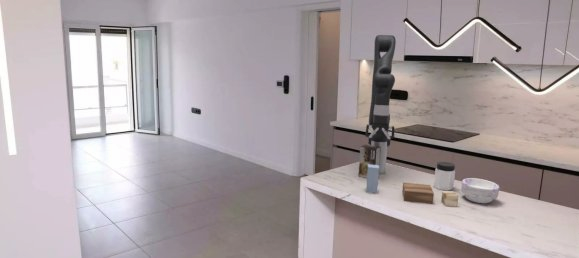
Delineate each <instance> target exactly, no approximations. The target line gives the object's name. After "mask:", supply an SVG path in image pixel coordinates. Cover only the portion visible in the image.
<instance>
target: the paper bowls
mask: <svg viewBox="0 0 579 258" xmlns="http://www.w3.org/2000/svg"><path fill="white" fill-rule="evenodd" d="M460 191H461V193H462V194H464V196H465V198H466V199H467V200H468V201H471V202H473V203H477V204H489V203H491V202H492V201H493V200H495V199H498V197H499V193H500V185H499V184H497V183H496V182H494V181H490V180H487V179H482V178H476V177H471V178H470V177H467V178H464V179H462V181H461V185H460Z"/></svg>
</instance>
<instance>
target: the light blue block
mask: <svg viewBox="0 0 579 258" xmlns="http://www.w3.org/2000/svg"><path fill="white" fill-rule="evenodd" d="M378 175H379V176H380V174H379V165H370V164H368V172H367V178H366V187H365V189H366V190H365V193H368V194H369V193H370V194H378V185H379V177H378Z"/></svg>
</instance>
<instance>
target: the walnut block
mask: <svg viewBox="0 0 579 258" xmlns="http://www.w3.org/2000/svg"><path fill="white" fill-rule="evenodd" d="M401 193H402V198H403V202H411V203H417V204H418V203H419V204H428V205H429V204H430V205H433V204H434V198H435V197H434V196H435V194H434V191H433V189H432V186H431V184H424V183H421V184H420V183H412V182H411V183H410V182H402V192H401Z"/></svg>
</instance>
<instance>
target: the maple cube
mask: <svg viewBox="0 0 579 258" xmlns="http://www.w3.org/2000/svg"><path fill="white" fill-rule="evenodd" d="M440 202H441V204H443V205H444V206H445V207H458V204H459V194H458V193H456V192H455V191H453V190H452V191H451V190H449V191H447V190H441V200H440Z"/></svg>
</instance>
